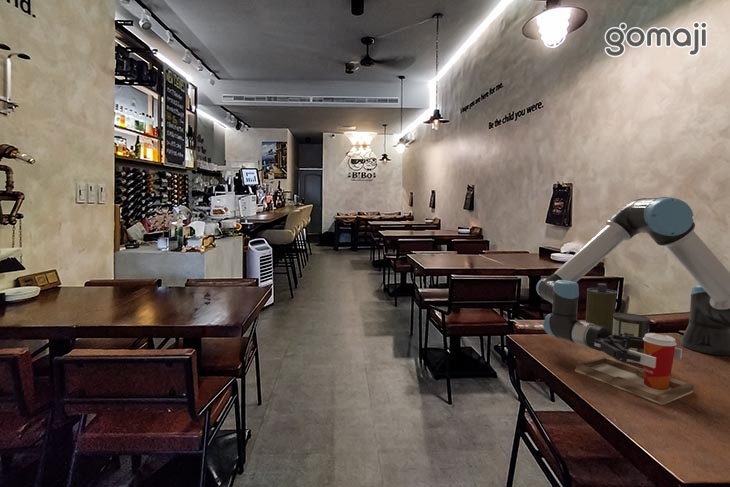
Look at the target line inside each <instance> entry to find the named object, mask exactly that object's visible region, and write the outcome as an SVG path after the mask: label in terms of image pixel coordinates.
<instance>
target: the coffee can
mask: <svg viewBox="0 0 730 487" xmlns="http://www.w3.org/2000/svg"><path fill="white" fill-rule="evenodd" d="M613 317H614V318H613V334H612V335H614V334H615V335H619V334H624V335H629V336H635V337H641V338H643V337H644V336H645V334H647V333H650V332H649V331H650V323H651V318H650V317H648V316H645V315H641V314H638V313H637V314H636V313H629V312H628V313H627V312H615V314H613ZM625 346H626V344H625ZM626 350H627V352H628V350H632V351H636V352H639V353H642V354H644V349H638V348H629V349H626ZM621 360H622V358H621V359H620V360H619V361H621ZM630 362H631V363H632V364H637V363H636V362H633V361H630V360H628V359H627V362H626V363H630ZM631 363H630V364H631Z"/></svg>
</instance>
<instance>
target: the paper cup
mask: <svg viewBox="0 0 730 487" xmlns="http://www.w3.org/2000/svg"><path fill="white" fill-rule="evenodd" d="M643 340H644V354H646V355H649V356H652V357H656V367H655V368H652V367H649V366H646V365H643V368H644V384H645V385H646V386H648V387H650V388H654V389H658V390H667V389H668V387H669V382H670V377H672V369H673V362H674V351H675V348H676V346H677V345H678V344H677V342H676V338H674V337H673V336H671V335H667V334H665V335H664V334H661V333H655V332H649V333H647V334H645V336H644V337H643Z"/></svg>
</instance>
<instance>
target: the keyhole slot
mask: <svg viewBox="0 0 730 487" xmlns="http://www.w3.org/2000/svg"><path fill="white" fill-rule="evenodd" d="M574 372H576V373H578V374H581V375H584V376H586V377H589V378H591V379H594V380H597V381H599V382H601V383H605V384H607V385H609V386H611V387H614V388H616V389H620V390H623V391H625V392H628V393H630V394H632V395H635V396H637V397H640V398H643V399H645V400H648V401H650V402H652V403H656V404H659V405H660V406H664V405H667V404H669V403H671V402H673V401H675V400H678V399H681V398H684V397H685V396H688V395H690V394H693V393H694V389H695V388H694V387H695V384H691V383H689V382H686V381H683V380H679V379H677V378H673V377H672V376H670V382H669V387H668V388H671V390H669V391H666V392H664V393H663V392H660V391H657V390H655V389H652V388H649V387H646V386H644V385H641V384H638V383H640V382H643V381H644V367H643V368H641V367H639V366H636V365H632V364H631V363H630V364H629V363H628V362H622V361H621V360H617V359H615V358H613V357H608V356H602V357H598V358H595V359H591V360H588V361H584V362H580V363H577V364H576V363H575V369H574Z"/></svg>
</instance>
